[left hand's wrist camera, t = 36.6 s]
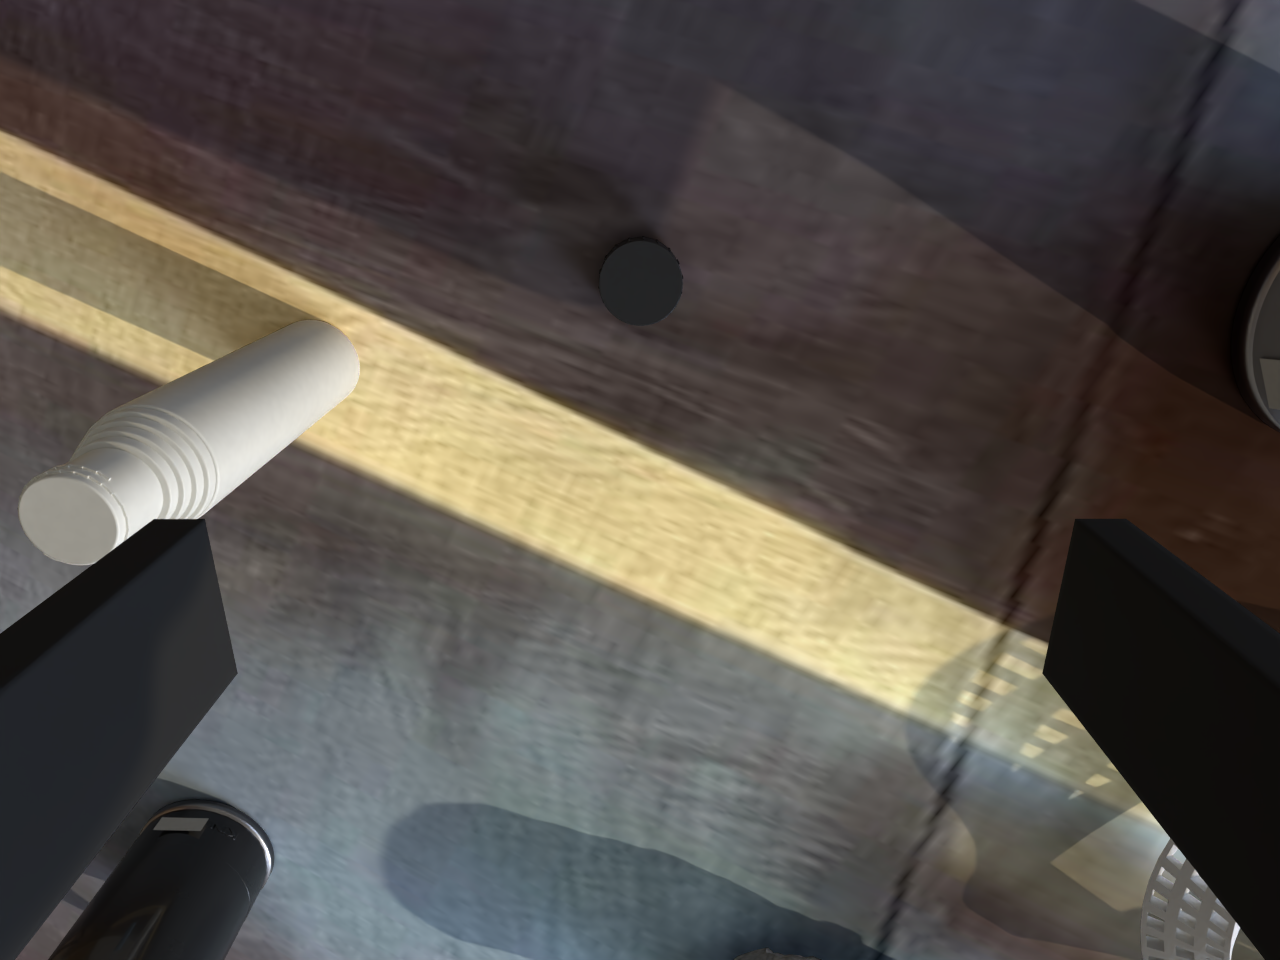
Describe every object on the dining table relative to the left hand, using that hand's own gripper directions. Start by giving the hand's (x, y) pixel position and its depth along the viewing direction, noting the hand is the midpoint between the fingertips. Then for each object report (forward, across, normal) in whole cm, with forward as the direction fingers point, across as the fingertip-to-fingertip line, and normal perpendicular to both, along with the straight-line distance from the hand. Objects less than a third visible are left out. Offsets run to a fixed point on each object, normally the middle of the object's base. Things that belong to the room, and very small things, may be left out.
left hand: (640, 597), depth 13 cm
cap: (+33, 0, 0) cm, 33 cm away
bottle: (+35, +18, +5) cm, 40 cm away
